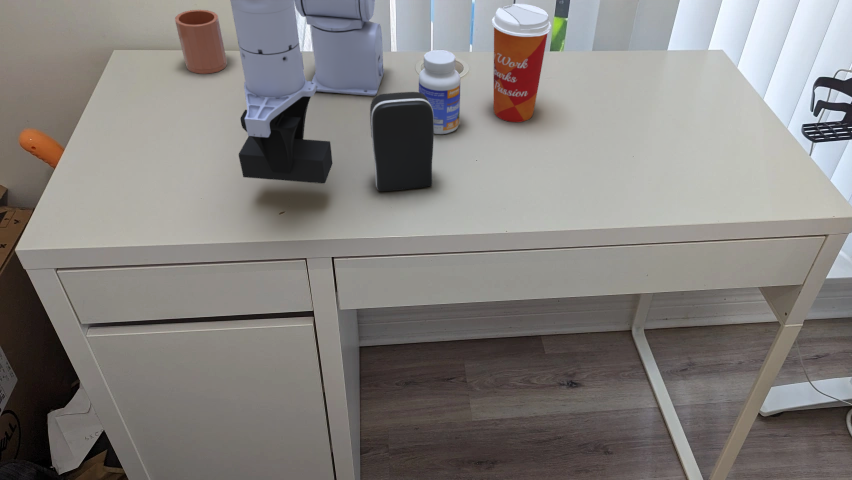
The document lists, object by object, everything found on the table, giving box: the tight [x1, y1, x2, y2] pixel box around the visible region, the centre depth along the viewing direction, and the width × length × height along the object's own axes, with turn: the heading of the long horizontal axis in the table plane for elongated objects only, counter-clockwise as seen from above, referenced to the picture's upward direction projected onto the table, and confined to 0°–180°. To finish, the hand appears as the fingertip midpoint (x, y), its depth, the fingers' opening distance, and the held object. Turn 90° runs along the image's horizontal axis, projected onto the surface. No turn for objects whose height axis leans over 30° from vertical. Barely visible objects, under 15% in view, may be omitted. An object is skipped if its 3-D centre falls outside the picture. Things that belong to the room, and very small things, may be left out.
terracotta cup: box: [174, 9, 228, 75], centre depth 103 cm, size 6×6×7 cm
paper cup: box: [491, 3, 552, 123], centre depth 97 cm, size 8×8×14 cm
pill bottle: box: [418, 49, 461, 135], centre depth 94 cm, size 5×5×10 cm
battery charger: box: [369, 91, 435, 192], centre depth 83 cm, size 7×4×11 cm, turn 106°
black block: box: [238, 135, 333, 184], centre depth 80 cm, size 9×4×3 cm, turn 88°
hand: (287, 159), depth 80 cm, fingers closed on black block, 4 cm apart
